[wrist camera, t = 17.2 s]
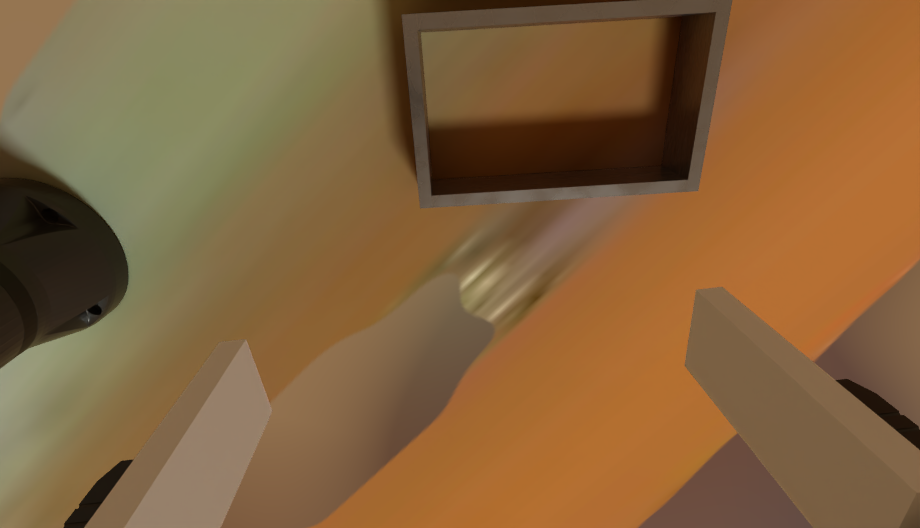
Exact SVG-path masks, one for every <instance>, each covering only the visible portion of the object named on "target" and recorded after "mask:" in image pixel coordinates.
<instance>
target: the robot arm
mask: <svg viewBox="0 0 920 528" xmlns="http://www.w3.org/2000/svg"><path fill="white" fill-rule="evenodd" d="M127 285H128V266H127V261H126V258H125V255H124V252H123V250H122V248H121V245H120V244H119V242H118V240H117V238H116V237H115V235H114V234H113V232H112V231H111V230H110V228H109V227H108V226H107V225H106V224H105V222H104V221H103V220H102V219H101V218H100V217H99V216H98V215H97V214H96V213H95V212H93V211H92V210H91V209H90V208H89V207H87V206H86V205H85V204H83V203H82V202H80V201H79V200H77V199H76V198H74V197H73V196H71V195H69V194H67V193H65V192H63V191H61V190H59V189H57V188H55V187H52V186H49V185H47V184H43V183H40V182H36V181H32V180H27V179H19V178H2V179H0V368H2V367H3V366H4V365H6V364H7V363H8V362H10V361H11V360H12V359H14V358H15V357H16V356H18V355H19V354H21V353H22V352H24V351H25V350H27V349H28V348H31V347H34V346H37V345H40V344H43V343H46V342H49V341H52V340H55V339H58V338H61V337H64V336H67V335H70V334H73V333H76V332H79V331H82V330H84V329H86V328H88V327H90V326H92V325H94V324H95V323H97V322H98V321H100V320H101V319H102V318H104V317H105V316H106V315H107V314H109V313H110V312H111V311H112V310H114V309H115V308H116V307H117V306H118V304H119V303H120V302H121V300H122V299H123V297H124V295H125V292H126V289H127ZM685 367H686V368H687V369H688V370H689V372H690V373H691V374H692V375H693V377H694V378H695V379H696V381H697V382H698V383H699V384H700V386H701V387H702V388H703V389H704V391H705V392H706V393H707V394H708V396H709V397H710V398H711V399H712V401H713V402H714V403H715V404H716V406H717V407H718V408H719V410H720V411H721V412H722V413H723V415H724V416H725V417H726V418H727V420H728V421H729V422H730V423H731V425H732V426H733V427H734V428H735V430H736V431H737V432H738V434H739V435H740V436H741V437H742V439H743V440H744V441H745V442H746V444H747V445H748V446H749V447H750V449H751V450H752V451H753V452H754V454H755V455H756V456H757V458H758V459H759V460H760V461H761V462H762V464H763V465H764V466H765V468H766V469H767V470H768V471H769V473H770V474H771V475H772V476H773V478H774V479H775V480H776V481H777V483H778V484H779V485H780V487H781V488H782V489H783V490H784V492H785V493H786V494H787V495H788V497H789V498H790V499H791V500H792V502H793V503H794V504H795V505H796V507H797V508H798V509H799V510H800V512H801V513H802V514H803V516H804V517H805V518H806V519H807V521H808V522H809V523H810V524H811V526H812V527H813V528H920V430H919V427H918V426H917V425H916V424H915V423H913V422H912V421H911V420H910V419H908V418H907V417H906V416H904V415H900V414H899V411H898V410H897V409H895V408H894V407H893V406H892V405H890V404H889V403H888V402H886V401H885V400H884V399H882V398H881V397H880V396H879V395H877V394H876V393H874V392H872V391H870V390H868V389H866V388H864V387H862V386H860V385H858V384H856V383H854V382H852V381H850V380H848V379H842V380H834V379H833V378H832V377H831V376H829V375H828V374H827V373H826V372H825V371H823V370H822V369H821V368H820V367H819V366H817V365H816V364H815V363H814V362H813V361H811V360H810V359H809V358H808V357H806V356H805V355H804V354H803V353H802V352H800V351H799V350H798V349H797V348H796V347H794V346H793V345H792V344H791V343H789V342H788V341H787V340H786V339H785V338H783V337H782V336H781V335H780V334H779V333H777V332H776V331H775V330H774V329H773V328H771V327H770V326H769V325H768V324H766V323H765V322H764V321H763V320H762V319H760V318H759V317H758V316H757V315H756V314H754V313H753V312H752V311H751V310H750V309H748V308H747V307H746V306H745V305H743V304H742V303H741V302H740V301H739V300H737V299H736V298H735V297H734V296H733V295H731V294H730V293H729V292H728V291H727V290H725V289H724V288H723V287H717V288H708V289H699V290H696V294H695V301H694V307H693V314H692V320H691V327H690V333H689V340H688V347H687V353H686V360H685ZM271 413H272V409H271V406H270V403H269V401H268V398H267V395H266V392H265V390H264V387H263V384H262V381H261V379H260V376H259V373H258V370H257V368H256V365H255V362H254V360H253V357H252V354H251V351H250V349H249V346H248V343H247V340H246V339H243V340H234V341H225V342H219V344H218V345H217V346H216V348H215V349H214V350H213V352H212V353H211V355H210V356H209V357H208V359H207V360H206V361H205V363H204V364H203V366H202V367H201V368H200V370H199V371H198V372H197V374H196V375H195V377H194V378H193V379H192V381H191V382H190V383H189V385H188V386H187V387H186V389H185V390H184V392H183V393H182V394H181V396H180V397H179V398H178V400H177V401H176V403H175V404H174V405H173V407H172V408H171V409H170V411H169V412H168V414H167V415H166V416H165V418H164V419H163V420H162V422H161V423H160V424H159V426H158V427H157V429H156V430H155V431H154V433H153V434H152V435H151V437H150V438H149V440H148V441H147V442H146V444H145V445H144V446H143V448H142V449H141V451H140V452H139V453H138V455H137V456H136V457H135V459H134V460H126V461H121V462H119V463H118V464H117V465H116V466H115V467H114V468H112V469H111V470H110V471H109V472H108V473H106V474H105V475H104V476H103V477H102V478H101V479H99V480H98V481H97V482H96V483H95V485H94V486H93V487H92V489H91V490H90V491H89V492H88V494H87V495H86V496H85V498H84V499H83V500H82V501H81V503H80V504H79V508H78V509H75V510H74V512H73V513H72V514H71V516H70V517H69V518H68V519H67V521H66V522H65V523H64V528H221V525H222V523H223V521H224V519H225V516H226V514H227V512H228V510H229V507H230V505H231V503H232V501H233V498H234V496H235V494H236V492H237V489H238V487H239V485H240V483H241V481H242V478H243V476H244V474H245V471H246V469H247V467H248V465H249V463H250V460H251V458H252V456H253V454H254V451H255V449H256V447H257V445H258V442H259V440H260V438H261V435H262V433H263V431H264V429H265V427H266V424H267V422H268V420H269V418H270V415H271Z"/></svg>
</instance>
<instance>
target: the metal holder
mask: <svg viewBox="0 0 920 528" xmlns="http://www.w3.org/2000/svg"><path fill="white" fill-rule="evenodd" d="M731 5H732V0H636V1H619V2H602V3H585V4H568V5H552V6H535V7H518V8H501V9H484V10H467V11H451V12H434V13H417V14H402V25H403V35H404V45H405V56H406V66H407V77H408V87H409V97H410V108H411V118H412V128H413V139H414V149H415V159H416V170H417V180H418V190H419V201H420V208H433V207H449V206H465V205H481V204H497V203H513V202H529V201H545V200H561V199H577V198H593V197H609V196H625V195H641V194H657V193H673V192H689V191H698V189H699V183H700V178H701V172H702V166H703V161H704V155H705V150H706V144H707V139H708V133H709V127H710V122H711V116H712V111H713V105H714V99H715V94H716V88H717V83H718V77H719V72H720V66H721V60H722V55H723V49H724V44H725V38H726V32H727V27H728V21H729V16H730V10H731ZM669 17H682V21H681V28H680V35H679V42H678V50H677V57H676V64H675V71H674V78H673V85H672V93H671V100H670V107H669V114H668V121H667V128H666V136H665V143H664V150H663V157H662V164H661V166H647V167H631V168H614V169H598V170H582V171H566V172H550V173H534V174H518V175H501V176H485V177H469V178H453V179H437V180H433V178H432V165H431V153H430V141H429V129H428V116H427V104H426V92H425V80H424V67H423V55H422V43H421V32H435V31H452V30H469V29H485V28H502V27H519V26H536V25H552V24H569V23H586V22H603V21H619V20H636V19H653V18H669Z"/></svg>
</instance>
